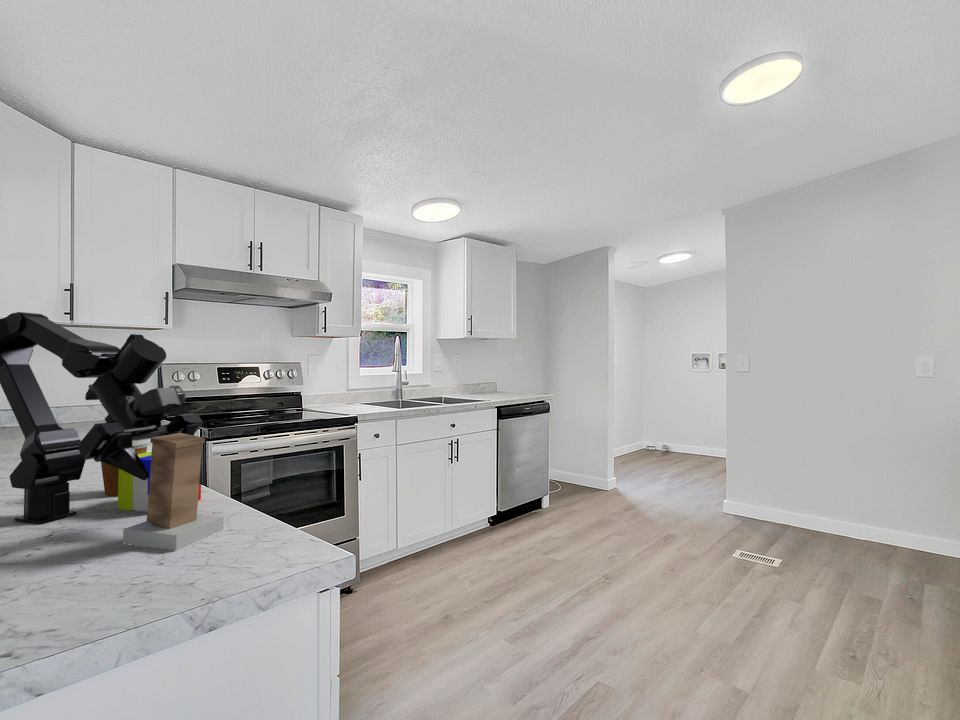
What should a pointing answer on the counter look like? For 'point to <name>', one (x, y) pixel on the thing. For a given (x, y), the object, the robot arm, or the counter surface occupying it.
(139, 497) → the puzzle toy
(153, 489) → the walnut canister
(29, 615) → the counter surface
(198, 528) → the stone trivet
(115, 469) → the disposable coffee cup
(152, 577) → the counter surface
